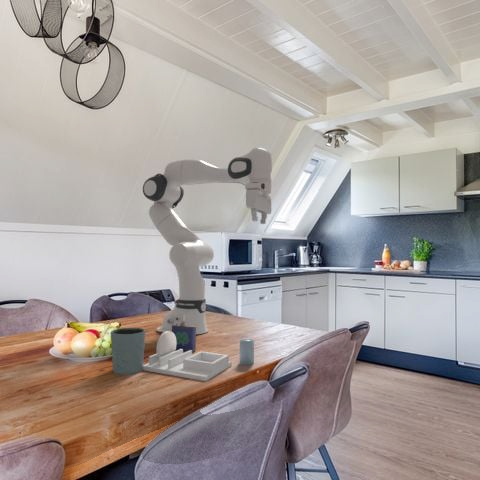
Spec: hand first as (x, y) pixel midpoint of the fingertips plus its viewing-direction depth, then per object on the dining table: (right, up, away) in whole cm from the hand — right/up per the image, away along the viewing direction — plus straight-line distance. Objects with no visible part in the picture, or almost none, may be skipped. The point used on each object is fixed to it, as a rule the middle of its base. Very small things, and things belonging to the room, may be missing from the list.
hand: (258, 222), depth 156 cm
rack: (-24, -46, -37) cm, 64 cm away
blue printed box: (-28, -47, -18) cm, 57 cm away
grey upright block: (-5, -46, -31) cm, 56 cm away
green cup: (-41, -46, -40) cm, 74 cm away
